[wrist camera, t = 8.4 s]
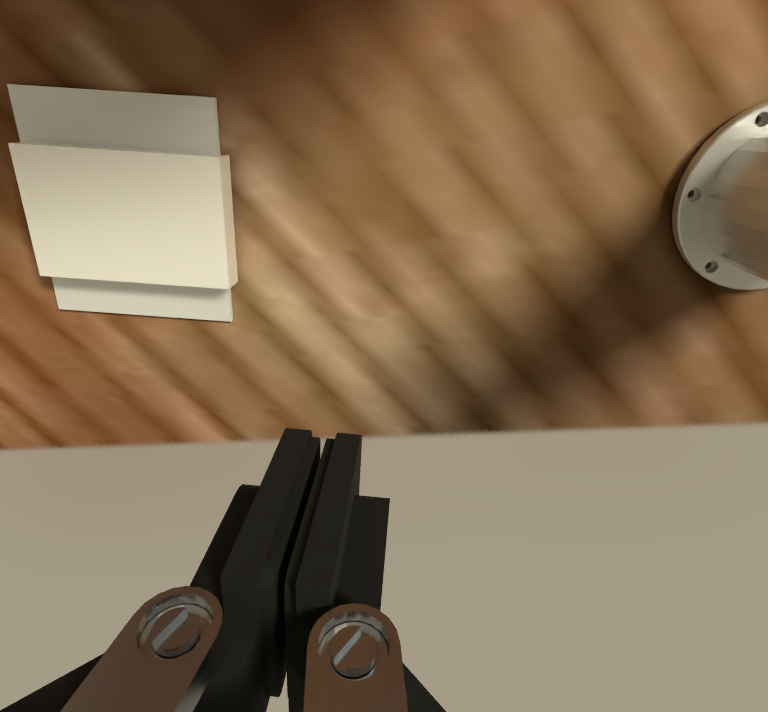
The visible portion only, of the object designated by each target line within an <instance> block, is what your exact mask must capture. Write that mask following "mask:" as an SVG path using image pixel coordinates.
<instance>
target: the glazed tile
mask: <svg viewBox="0 0 768 712" xmlns="http://www.w3.org/2000/svg"><path fill="white" fill-rule="evenodd" d="M8 145H9V149H10V153H11V157H12V162H13V166H14V170H15V174H16V178H17V182H18V186H19V191H20V195H21V199H22V203H23V207H24V211H25V215H26V220H27V224H28V228H29V232H30V236H31V240H32V244H33V249H34V253H35V257H36V261H37V265H38V269H39V273H40V276H50V277H64V278H78V279H92V280H106V281H120V282H134V283H148V284H162V285H176V286H189V287H203V288H217V289H230V288H231V287H232V286H233V285H234V284H236V283H237V282H238V277H237V262H236V247H235V232H234V218H233V203H232V188H231V173H230V159H229V155H220V154H205V153H190V152H175V151H161V150H146V149H131V148H116V147H101V146H86V145H71V144H56V143H42V142H15V143H8Z"/></svg>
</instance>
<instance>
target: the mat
mask: <svg viewBox="0 0 768 712" xmlns="http://www.w3.org/2000/svg"><path fill="white" fill-rule="evenodd" d="M7 87H8V91H9V95H10V100H11V104H12V108H13V113H14V117H15V121H16V126H17V130H18V134H19V139H20V142H42V143H56V144H71V145H86V146H101V147H116V148H131V149H146V150H161V151H175V152H190V153H205V154H220V155H221V151H220V137H219V124H218V111H217V98H215V97H200V96H185V95H169V94H154V93H139V92H123V91H108V90H93V89H77V88H62V87H47V86H32V85H16V84H7ZM52 281H53V286H54V290H55V294H56V298H57V303H58V307H59V309H65V310H78V311H92V312H106V313H119V314H133V315H147V316H160V317H174V318H188V319H202V320H215V321H229V322H232V321H233V312H232V299H231V288H230V289H217V288H203V287H189V286H176V285H162V284H148V283H134V282H120V281H106V280H92V279H78V278H64V277H52Z"/></svg>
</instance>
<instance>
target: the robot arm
mask: <svg viewBox="0 0 768 712" xmlns="http://www.w3.org/2000/svg"><path fill="white" fill-rule="evenodd" d="M756 117H757V121H756V122H755V119H756ZM690 190H691V194H690V196H688V193H689V191H690ZM687 196H688V197H687ZM672 226H673V234H674V238H675V242H676V246H677V248H678V250H679V252H680V253H681V255H682V257H683V259H684V260H685V261H686V263H687V264H688V265H689V266H690V267H691V268H692V269H693V270H694V271H695V272H697V273H698V274H700V275H701V276H703V277H704V278H706V279H708V280H710V281H712V282H714V283H716V284H718V285H721V286H724V287H728V288H732V289H740V290H757V289H767V288H768V101H767V102H764V103H761V104H758V105H756V106H754V107H752V108H750V109H748V110H746V111H744V112H742V113H740V114H738V115H737V116H735V117H734V118H733V119H731V120H730V121H728V122H727V123H726V124H724V125H723V126H722V127H720V128H719V129H718V130H717V131H716V132H715V133H714V134H713V135H712V136H711V137H710V138H709V139H708V140H707V141H706V142H705V143H704V144H703V145H702V146H701V148H700V149H699V150H698V152H697V153H696V154H695V156H694V157H693V158H692V160H691V161H690V163H689V165H688V167H687V168H686V170H685V172H684V174H683V176H682V178H681V180H680V183H679V186H678V189H677V192H676V195H675V199H674V205H673V211H672ZM707 263H708V264H707ZM706 265H707V266H706ZM361 445H362V435H357V434H347V433H337V434H336V437H335V439H329V438H327V439H326V442H325V445H324V449H323V452H322V455H321V459H320V438H318V437H312V431H311V430H303V429H292V428H286V429H285V431H284V433H283V435H282V437H281V439H280V442H279V444H278V446H277V448H276V451H275V453H274V455H273V458H272V460H271V462H270V465H269V467H268V469H267V471H266V473H265V476H264V478H263V480H262V483H261V485H260V486H254V485H244V484H242V485H241V486H240V487H239V489H238V490H237V492H236V494H235V496H234V498H233V500H232V502H231V504H230V506H229V508H228V510H227V512H226V514H225V516H224V518H223V520H222V522H221V524H220V526H219V528H218V530H217V532H216V534H215V536H214V538H213V540H212V542H211V544H210V546H209V548H208V550H207V552H206V554H205V556H204V558H203V560H202V562H201V564H200V566H199V568H198V570H197V572H196V574H195V576H194V578H193V580H192V582H191V585H190V586H184V587H178V588H172V589H170V590H167V591H165V592H162V593H160V594H158V595H156V596H155V597H153V598H151V599H150V600H149V601H147V602H146V603H144V604H143V605H142V606H141V608H140V609H139V610H138V611H137V612H136V613H135V614H134V615H133V616H132V618H131V619H130V620H129V622H128V623H127V624H126V626H125V627H124V628H123V630H122V631H121V632H120V633H119V635H118V636H117V638H116V639H115V640H114V641H113V643H112V644H111V645H110V647H109V648H108V649H107V651H106V652H105V653H104V654H102V655H100V656H98V657H96V658H95V659H93V660H91V661H89V662H88V663H86V664H84V665H82V666H80V667H78V668H77V669H75V670H73V671H71V672H69V673H68V674H66V675H64V676H62V677H60V678H58V679H57V680H55V681H53V682H51V683H49V684H48V685H46V686H44V687H42V688H40V689H39V690H37V691H35V692H33V693H31V694H29V695H28V696H26V697H24V698H22V699H20V700H19V701H17V702H15V703H13V704H11V705H10V706H8V707H6V708H4V709H2V710H0V712H266V710H267V706H268V702H269V698H270V696H275V697H279V696H280V694H281V692H282V688H283V684H284V679H285V676H286V672H287V689H288V690H287V691H288V698H289V712H446V711H445V710H444V709H443V708H442V706H441V705H440V704H439V703H438V702H437V701H436V700H435V699H434V697H433V696H432V695H431V694H430V693H429V692H428V691H427V690H426V688H424V686H423V685H422V684H421V683H420V682H419V681H418V679H417V678H416V677H415V676H414V675H413V674H412V673H411V672H410V670H409V669H408V668H407V667H406V666H405V665H404V664H403V663H402V655H401V646H400V640H399V637H398V633H397V630H396V628H395V626H394V625H393V623H392V622H391V620H390V619H389V618H388V617H387V616H386V615H384V614H383V613H382V612H381V611H380V607H381V596H382V584H383V572H384V560H385V549H386V536H387V525H388V514H389V502H390V499H389V498H379V497H369V496H359V484H360V483H359V481H360V465H361Z"/></svg>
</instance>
